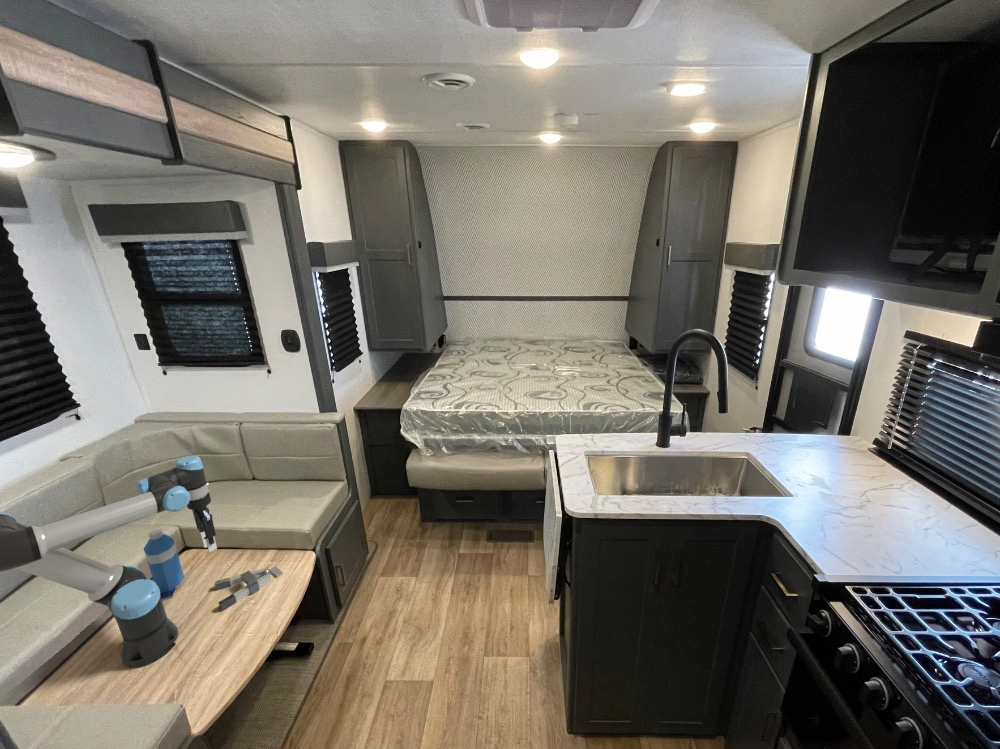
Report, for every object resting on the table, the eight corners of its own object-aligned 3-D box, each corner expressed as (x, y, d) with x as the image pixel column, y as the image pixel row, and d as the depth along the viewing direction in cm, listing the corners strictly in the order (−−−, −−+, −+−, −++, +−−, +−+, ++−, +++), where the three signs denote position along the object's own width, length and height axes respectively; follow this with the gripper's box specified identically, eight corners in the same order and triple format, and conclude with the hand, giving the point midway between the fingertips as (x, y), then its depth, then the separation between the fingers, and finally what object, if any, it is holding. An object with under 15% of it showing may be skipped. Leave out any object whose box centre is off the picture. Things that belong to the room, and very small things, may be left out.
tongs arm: (215, 594, 164) (213, 586, 163) (217, 587, 167) (215, 579, 166) (270, 578, 171) (268, 571, 170) (270, 572, 175) (269, 565, 174)
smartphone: (152, 592, 167) (198, 575, 175) (152, 594, 167) (198, 577, 175) (150, 604, 161) (198, 586, 169) (151, 606, 161) (199, 588, 169)
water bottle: (169, 595, 165) (153, 541, 158) (150, 592, 167) (133, 538, 160) (190, 578, 174) (176, 525, 167) (172, 574, 176) (156, 523, 169)
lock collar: (251, 595, 163) (248, 583, 162) (243, 586, 167) (240, 575, 166) (259, 590, 166) (257, 578, 164) (251, 582, 170) (248, 570, 168)
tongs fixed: (222, 611, 156) (220, 605, 155) (215, 603, 160) (213, 597, 159) (283, 574, 174) (281, 568, 173) (275, 568, 177) (274, 562, 176)
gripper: (217, 498, 158) (230, 550, 165) (199, 484, 168) (212, 534, 175) (194, 507, 152) (208, 562, 159) (177, 493, 162) (191, 544, 169)
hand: (210, 547), depth 167 cm, fingers open, 4 cm apart
